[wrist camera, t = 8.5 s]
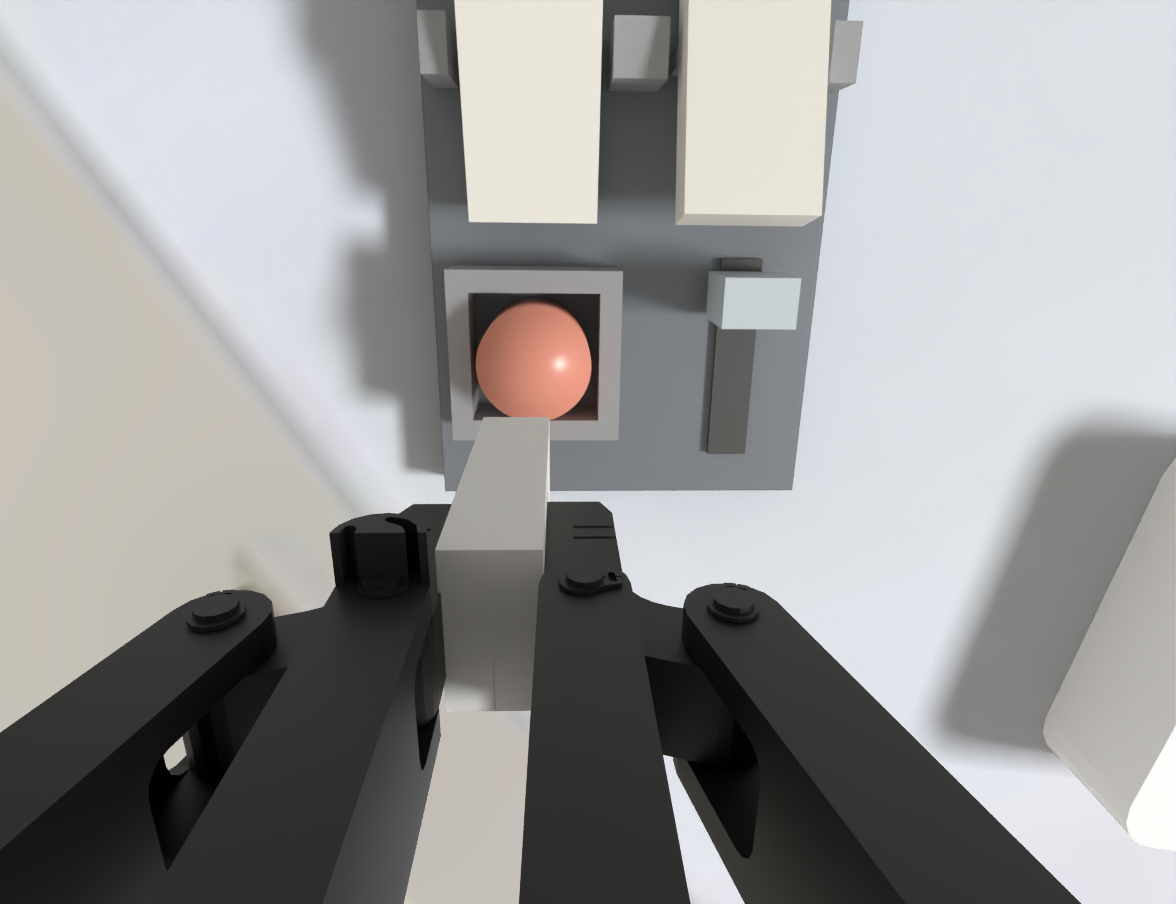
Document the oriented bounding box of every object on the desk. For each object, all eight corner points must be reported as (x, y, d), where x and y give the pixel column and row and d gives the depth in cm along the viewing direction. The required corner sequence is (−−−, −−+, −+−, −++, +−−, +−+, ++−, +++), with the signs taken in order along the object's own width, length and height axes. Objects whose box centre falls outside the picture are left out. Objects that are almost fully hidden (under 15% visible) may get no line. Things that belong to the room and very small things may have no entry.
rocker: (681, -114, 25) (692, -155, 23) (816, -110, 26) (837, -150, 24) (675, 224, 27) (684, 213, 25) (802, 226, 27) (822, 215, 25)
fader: (709, 270, 30) (725, 277, 27) (777, 271, 30) (801, 278, 27) (705, 317, 31) (721, 329, 28) (772, 318, 31) (795, 329, 28)
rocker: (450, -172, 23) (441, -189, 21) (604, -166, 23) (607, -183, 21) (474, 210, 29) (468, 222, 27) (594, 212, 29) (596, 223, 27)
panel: (418, -117, 27) (389, -186, 23) (843, -103, 28) (901, -167, 23) (451, 476, 36) (434, 516, 31) (780, 475, 36) (813, 515, 31)
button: (483, 296, 30) (473, 307, 27) (588, 297, 30) (592, 308, 27) (486, 399, 32) (477, 422, 28) (587, 399, 32) (590, 422, 29)
